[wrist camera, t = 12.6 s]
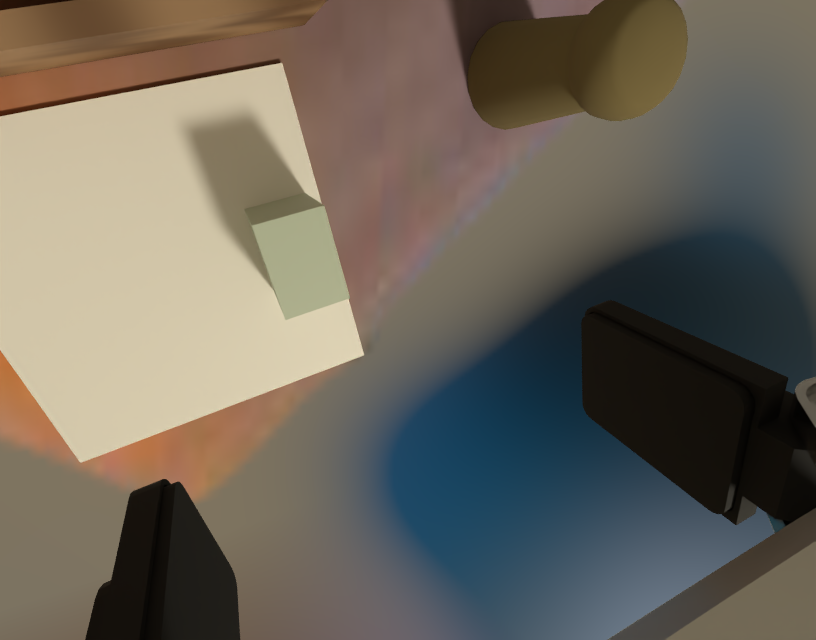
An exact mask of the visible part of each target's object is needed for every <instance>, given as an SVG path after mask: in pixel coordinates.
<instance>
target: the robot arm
mask: <svg viewBox="0 0 816 640" xmlns="http://www.w3.org/2000/svg"><path fill="white" fill-rule="evenodd" d="M581 325H582V389H583V390H582V391H583V392H582V395H583V408H584V410H585V412H586V414H587V415H588V416H589V417H590V418H591V419H592V420H594V421H595V422H596V423H597V424H599V425H600V426H601V427H602V428H604V429H605V430H606V431H608V432H609V433H610V434H612V435H613V436H614V437H616V438H617V439H618V440H619V441H621V442H622V443H623V444H624V445H626V446H627V447H628V448H630V449H631V450H632V451H633V452H635V453H636V454H637V455H639V456H640V457H641V458H642V459H644V460H645V461H646V462H648V463H649V464H650V465H652V466H653V467H654V468H655V469H657V470H658V471H659V472H661V473H662V474H663V475H664V476H666V477H667V478H668V479H670V480H671V481H672V482H673V483H675V484H676V485H678V486H679V487H680V488H681V489H682V490H684V491H685V492H686V493H688V494H689V495H690V496H691V497H693V498H694V499H695V500H697V501H698V502H699V503H701V504H702V505H703V506H704V507H706V508H707V509H708V510H710V511H711V512H713V513H716V514H722V515H723V516H724V517H726V518H727V519H729V520H730V521H731V522H732V523H734V524H735V525H737V524H739V523H741V522H742V521H744V520H746V519H747V518H749V517H750V516H752V515H754V514H755V512H756V508H757V506H758V507H759V508H760V509H762V510H763V511H765V512H766V513H767V515H768V518H769V521H770V523H771V526H772V528H773V530H774V533H775V534H773V535H771V536H770V537H768V538H767V539H765V540H764V541H762V542H760V543H759V544H757V545H756V546H754V547H752V548H751V549H749V550H748V551H746V552H745V553H743V554H741V555H740V556H738V557H737V558H735V559H734V560H732V561H730V562H729V563H727V564H726V565H724V566H722V567H721V568H719V569H718V570H716V571H715V572H713V573H711V574H710V575H708V576H706V577H705V578H703V579H702V580H700V581H699V582H697V583H695V584H694V585H692V586H691V587H689V588H688V589H686V590H684V591H683V592H681V593H680V594H678V595H677V596H675V597H674V598H672V599H671V600H669V601H667V602H666V603H664V604H663V605H661V606H659V607H658V608H656V609H655V610H653V611H652V612H650V613H648V614H647V615H645V616H644V617H642V618H641V619H639V620H637V621H636V622H634V623H633V624H631V625H630V626H628V627H627V628H625V629H623V630H622V631H620V632H619V633H617V634H616V635H614V636H612V637H611V638H609V639H608V640H816V377H815V378H811V379H807V380H804V381H803V382H801V383H800V384H798V385H797V387H796V390H795V394H792V393H790V392H788V391H785V389H786V385H787V381H788V377H786V376H783V375H781V374H779V373H777V372H774V371H772V370H770V369H767V368H765V367H763V366H761V365H758V364H756V363H754V362H752V361H749V360H747V359H745V358H742V357H740V356H738V355H736V354H733V353H731V352H729V351H727V350H724V349H722V348H720V347H717V346H715V345H713V344H711V343H708V342H706V341H704V340H702V339H699V338H697V337H695V336H693V335H690V334H688V333H686V332H683V331H681V330H679V329H677V328H674V327H672V326H670V325H668V324H665V323H663V322H661V321H659V320H656V319H654V318H652V317H649V316H647V315H645V314H643V313H640V312H638V311H636V310H634V309H631V308H629V307H627V306H624V305H622V304H620V303H618V302H615V301H612V300H610V301H606V302H603V303H601V304H598V305H596V306H593V307H591V308H589V309H587V311H586V313H585V317H583V319H582V324H581ZM85 640H240V629H239V612H238V595H237V584H236V579H235V575H234V572H233V570H232V568H231V566H230V564H229V562H228V561H227V559H226V557H225V556H224V554H223V552H222V551H221V549H220V547H219V546H218V544H217V542H216V541H215V539H214V537H213V535H212V534H211V532H210V530H209V529H208V527H207V525H206V524H205V522H204V520H203V519H202V517H201V516H200V514H199V512H198V510H197V509H196V507H195V505H194V503H193V502H192V500H191V498H190V497H189V495H188V493H187V492H186V490H185V488H184V487H183V485H182V484H181V483H180V482H176V483H173V484H170V482H169V481H168V480H166V479H162V480H160V481H157V482H155V483H152V484H150V485H147V486H145V487H142V488H140V489H137V490H135V491H133V492H132V493H131V494H130V497H129V501H128V505H127V510H126V515H125V519H124V524H123V528H122V533H121V537H120V542H119V547H118V551H117V556H116V561H115V565H114V570H113V575H112V580H111V581H108V582H106V583H104V584H103V585H102V586H101V587H100V589H99V590H98V593H97V595H96V598H95V602H94V606H93V610H92V614H91V619H90V622H89V627H88V631H87V635H86V639H85Z"/></svg>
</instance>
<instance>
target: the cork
mask: <svg viewBox="0 0 816 640" xmlns="http://www.w3.org/2000/svg"><path fill="white" fill-rule="evenodd" d="M687 42H688V36H687V26H686V21H685V18H684V15H683V13H682V10H681V8H680V7H679V6H678V4H677V3H676V2H675V1H674V0H604V1H602V2H601V3H600V4H598V5H597V6H595V7H594V8H593V9H592V10H591V11H590V13H589V14H586V15H575V16H563V17H551V18H539V19H527V20H516V21H506V22H500V23H499V24H497V25H495V26H493V27H492V28H490V29H488V30H487V31H486V33H485V34H484V35H483V36H482V37H481V38H480V40H479V41H478V42H477V44H476V47H475V49H474V51H473V53H472V55H471V58H470V63H469V69H468V75H467V76H468V90H469V95H470V98H471V101H472V104H473V106H474V108H475V110H476V111H477V113H478V114H479V115H480V117H481V118H482V120H484V121H485V122H487V123H488V124H490V125H491V126H493V127H496V128H500V129H505V130H506V129H511V128H517V127H521V126H525V125H530V124H534V123H538V122H542V121H546V120H551V119H555V118H559V117H563V116H568V115H572V114H576V113H580V112H585V111H586V112H587V113H588V114H590V115H592V116H594V117H597V118H601V119H605V120H609V121H622V120H627V119H632V118H635V117H638V116H641V115H643V114H645V113H646V112H648V111H650V110H651V109H653V108H654V107H656V106H657V105H658V104H659V103H660V102H662V101H663V99H664V98H665V97H666V96H667V95H668V94H669V93H670V92H671V91H672V89H673V87H674V86H675V84H676V82H677V80H678V78H679V76H680V74H681V71H682V68H683V65H684V62H685V59H686V52H687Z"/></svg>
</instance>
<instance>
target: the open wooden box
mask: <svg viewBox="0 0 816 640" xmlns="http://www.w3.org/2000/svg"><path fill="white" fill-rule="evenodd" d="M326 1H327V0H73V1H65V2H58V3H51V4H43V5H36V6H29V7H21V8H14V9H7V10H0V77H3V76H9V75H15V74H21V73H26V72H32V71H38V70H44V69H50V68H56V67H62V66H67V65H73V64H79V63H85V62H91V61H97V60H103V59H108V58H114V57H120V56H126V55H132V54H138V53H144V52H150V51H155V50H161V49H167V48H173V47H179V46H185V45H191V44H196V43H202V42H208V41H214V40H220V39H226V38H232V37H237V36H243V35H249V34H255V33H261V32H267V31H273V30H278V29H284V28H290V27H296V26H302V25H305V24H306V22H307V21H308V20H309V19H310V18H311V17H312V16H313V15H314V14H315V13H316V12H317V11H318V10H319V9H320V8H321V7H322V6H323V4H324V3H325V2H326Z"/></svg>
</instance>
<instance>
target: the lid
mask: <svg viewBox="0 0 816 640" xmlns="http://www.w3.org/2000/svg"><path fill="white" fill-rule="evenodd" d="M349 298H350V296H349V293H348V289H347V286H346V282H345V279H344V275H343V271H342V268H341V264H340V261H339V257H338V253H337V250H336V246H335V243H334V239H333V235H332V232H331V228H330V225H329V221H328V217H327V214H326V210H325V207H324V205H323V204H322V203H321V200H320V196H319V193H318V189H317V186H316V182H315V178H314V175H313V171H312V168H311V164H310V161H309V157H308V154H307V150H306V146H305V143H304V139H303V136H302V132H301V129H300V125H299V121H298V118H297V114H296V111H295V107H294V104H293V100H292V96H291V93H290V89H289V86H288V82H287V79H286V75H285V72H284V68H283V64H282V63H278V64H273V65H268V66H263V67H257V68H252V69H247V70H242V71H236V72H231V73H226V74H221V75H215V76H210V77H205V78H200V79H194V80H189V81H184V82H179V83H173V84H168V85H163V86H158V87H152V88H147V89H142V90H137V91H131V92H126V93H121V94H116V95H110V96H105V97H100V98H95V99H89V100H84V101H79V102H74V103H68V104H63V105H58V106H53V107H47V108H42V109H37V110H31V111H26V112H21V113H16V114H10V115H5V116H0V350H1V352H2V353H3V355H4V356H5V357H6V359H7V360H8V362H9V363H10V364H11V366H12V367H13V369H14V370H15V371H16V373H17V374H18V376H19V377H20V378H21V380H22V381H23V383H24V384H25V385H26V387H27V388H28V390H29V391H30V392H31V394H32V395H33V397H34V398H35V400H36V401H37V402H38V404H39V405H40V407H41V408H42V409H43V411H44V412H45V414H46V415H47V416H48V418H49V419H50V421H51V422H52V423H53V425H54V426H55V428H56V429H57V430H58V432H59V433H60V435H61V436H62V437H63V439H64V440H65V442H66V443H67V444H68V446H69V447H70V449H71V450H72V452H73V453H74V454H75V456H76V457H77V459H78V460H79V461H80V463H81V462H84V461H87V460H89V459H92V458H95V457H97V456H100V455H102V454H105V453H108V452H110V451H113V450H116V449H118V448H121V447H124V446H126V445H129V444H131V443H134V442H137V441H139V440H142V439H145V438H147V437H150V436H153V435H155V434H158V433H160V432H163V431H166V430H168V429H171V428H174V427H176V426H179V425H181V424H184V423H187V422H189V421H192V420H195V419H197V418H200V417H203V416H205V415H208V414H210V413H213V412H216V411H218V410H221V409H224V408H226V407H229V406H232V405H234V404H237V403H239V402H242V401H245V400H247V399H250V398H253V397H255V396H258V395H261V394H263V393H266V392H268V391H271V390H274V389H276V388H279V387H282V386H284V385H287V384H290V383H292V382H295V381H297V380H300V379H303V378H305V377H308V376H311V375H313V374H316V373H318V372H321V371H324V370H326V369H329V368H332V367H334V366H337V365H340V364H342V363H345V362H347V361H350V360H353V359H355V358H358V357H361V356H363V355H364V353H363V350H362V346H361V342H360V339H359V335H358V332H357V328H356V325H355V321H354V317H353V314H352V310H351V307H350V303H349V300H348V299H349Z"/></svg>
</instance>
